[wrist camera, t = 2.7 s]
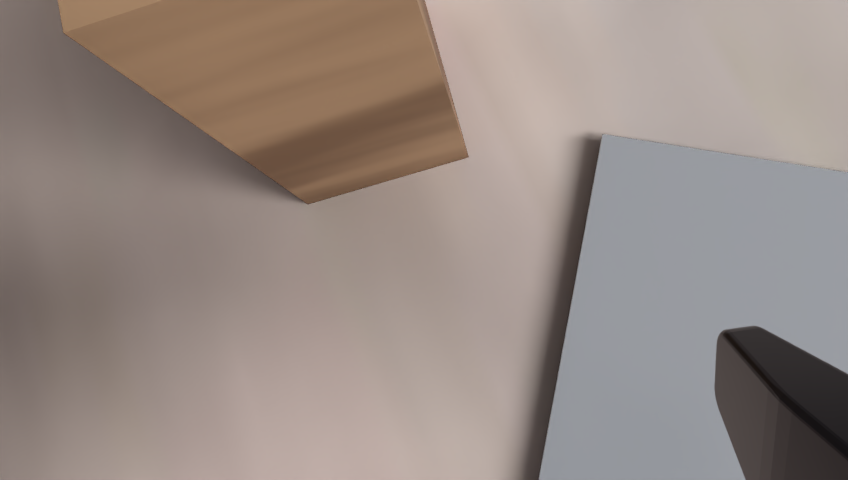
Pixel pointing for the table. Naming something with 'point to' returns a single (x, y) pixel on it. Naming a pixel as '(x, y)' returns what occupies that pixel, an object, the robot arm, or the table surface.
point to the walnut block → (289, 81)
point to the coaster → (688, 302)
